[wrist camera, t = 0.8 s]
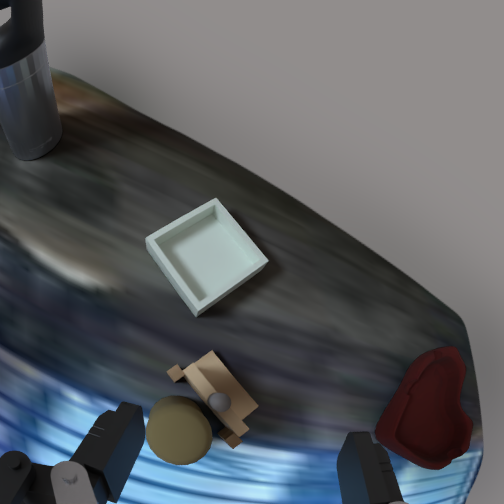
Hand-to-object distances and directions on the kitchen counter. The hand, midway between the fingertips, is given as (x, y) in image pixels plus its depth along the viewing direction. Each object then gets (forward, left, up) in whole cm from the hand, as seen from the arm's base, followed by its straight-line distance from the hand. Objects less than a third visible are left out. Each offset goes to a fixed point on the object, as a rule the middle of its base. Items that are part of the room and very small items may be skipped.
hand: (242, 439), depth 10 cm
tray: (-13, +11, -23) cm, 28 cm away
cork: (0, -3, -23) cm, 23 cm away
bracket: (0, +2, -23) cm, 23 cm away
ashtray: (+22, +20, -23) cm, 38 cm away
